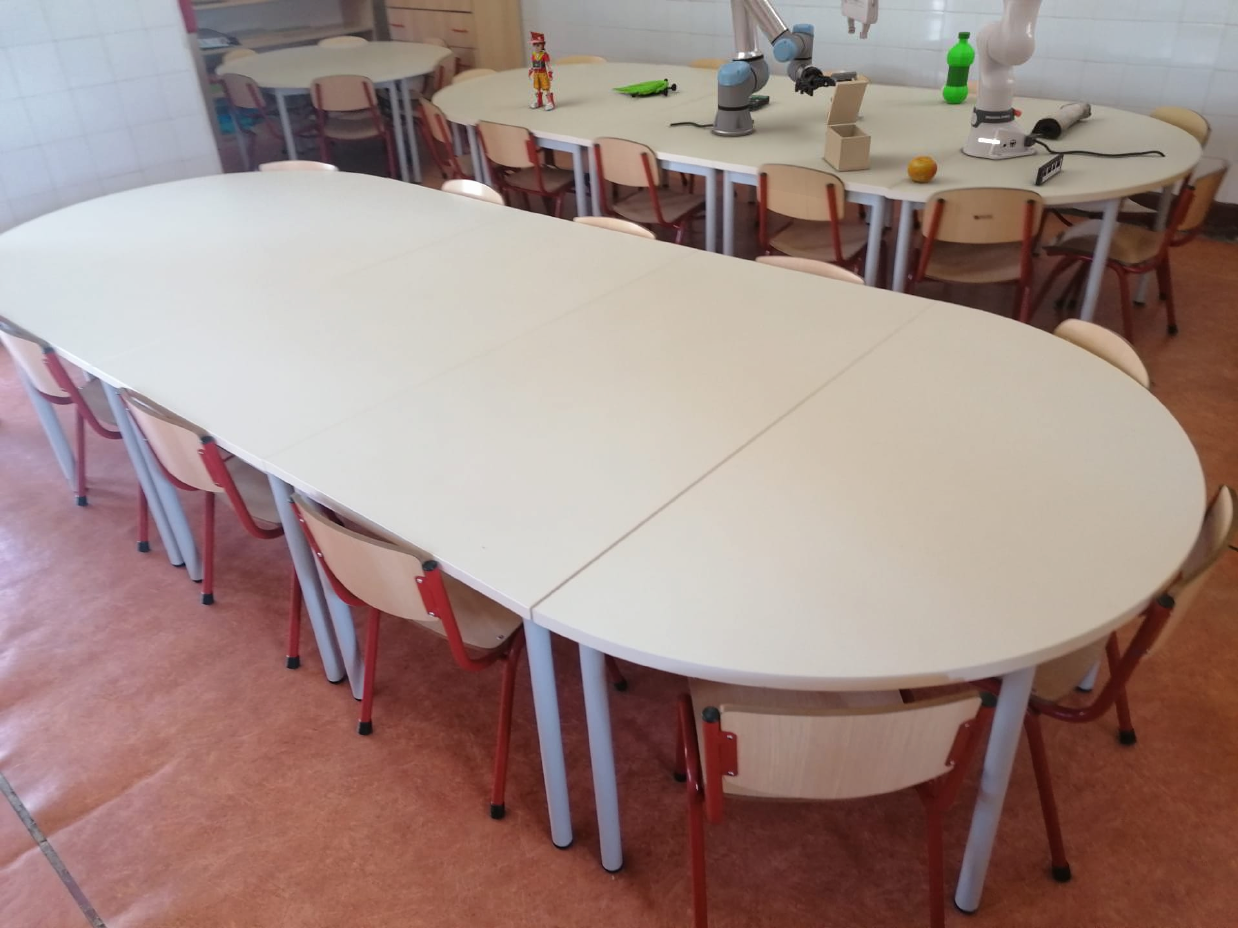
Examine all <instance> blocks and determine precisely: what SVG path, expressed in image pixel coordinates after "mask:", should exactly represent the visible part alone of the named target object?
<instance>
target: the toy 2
mask: <svg viewBox="0 0 1238 928" xmlns="http://www.w3.org/2000/svg"><path fill="white" fill-rule="evenodd" d="M669 85H670V83H669V79H668V78H664V79H663V80H649V81H644V82H640V83H634V84H629V85H627V86H621V87H613V88H612V89H613V90H616V91H619V92H623V93H627V94H628V93H629V94H631V95H630V96H631V98H632V99H634V98H636V96H637V95H650V94H652V93H654V94H658V93H662V95H663V96H665V97H667V96H668V95H669V90H671V91H672V92H676V91H677V84H676V83H672V84H671V86H669Z"/></svg>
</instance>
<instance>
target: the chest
mask: <svg viewBox="0 0 1238 928" xmlns="http://www.w3.org/2000/svg"><path fill="white" fill-rule="evenodd" d="M824 139H825V141H824V152H823V154H824V155H823V159H824V160H825V161H826V162H827V163H829V164H830V165H831V166H832V167H833V168H834V169H835V170H836V171H837V172H848V171H858V170H867V169H869V162H870V161H869V159H870V150H871V140H872V135H870V133H868V132H867V131H865V130H864V129H863V128H861V127H860V126H859V125H857V124H856V123H850V124H838V125H826V129H825V138H824Z"/></svg>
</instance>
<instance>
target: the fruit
mask: <svg viewBox="0 0 1238 928" xmlns="http://www.w3.org/2000/svg"><path fill="white" fill-rule="evenodd" d="M937 172H938V164H937V163H936V161H935V160H934V159H933V158H932V157H929V156H926V155H925V156H922V155H921V156H917V157H915V158H912V160H911V161H910V162H909V163H908V167H907V175H908V177H909V178H910V179H911V180H913V181H914V182H919V183H920V182H921V183H924V182H930V180H932V179H933V178H934V177H935V176H936V175H937Z"/></svg>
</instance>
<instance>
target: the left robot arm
mask: <svg viewBox="0 0 1238 928" xmlns="http://www.w3.org/2000/svg"><path fill="white" fill-rule="evenodd" d="M730 9H731V19H732V27H733V38H734V47H735V48H734V49H735V53H734V54H733V56H732V58H731V60H732V61H730V62H726V63H723V64H721V65H720V67H719V68H718V70H717V111H716V114H715V118H714V120H713V123H710V124H709V123H707V124H699V123H696V122H693V121H683V122H682V121H679V122H673V123H670V124H669V126H670V127H675V126H681V125H682V126H683V125H692V126H695V127H698V128H711V127H712V133H713V134H715V135H717V136H721V137H741V136H746V135H750V134H752V133H754V127H755V126H754V124H755V119H753V118H752V115H751V110H749V97H750V95H754V94H757V93H759V92H760V91H761V90H762V89H764V87H766V85H767V83H768V82H769V79H770V76H771V70H770V65H769V63H768V62H767V61H766V60H765V54H764V51H762V50H761V49H760V45H759V44H760V43H759V34H758V28H759V29H760V30H761V32H762V34H763V35H764V36H765V37H766V39H767V41H768V42H769V43H770V45H771V46H772V48H773V49H772V53H773V54H772V55H773V58H774V59H775V61H777V62H779V63H788V64H787V67H786V75H787V76H788V78H789V79H790V80H791V81H792V82H793V83H795V84H794V93H798V92H799V94H800V95H804V94H806V95H808V96H810V97H814V91H816V90H818V89H819V88H829V87H834V88H835V87H836V84H835V82H834V80H832V74H830V75H824V72H823V71H822V70H821V69H819V68H818V67H816V66H815V65H813V50H814V38H815V27H814V25H813V24H811V23H797V24H795V25H793V26H792V31H791V30H790V28H789V27H788V25H787V24H786V23H785V21H784V20H783V18H782V17H781V15H780V13H779V12H778V11H777V10H776V8H775V7H774V5H773V4H772V3H771V1H770V0H730ZM837 81H838V82H845V81H853V78H851V79H839V80H837Z"/></svg>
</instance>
